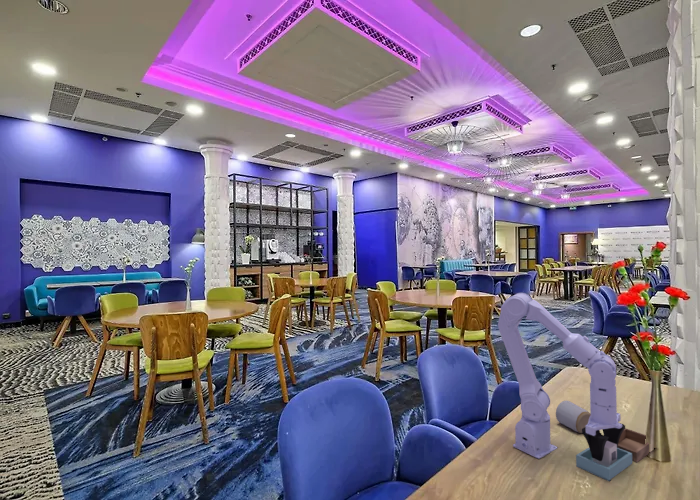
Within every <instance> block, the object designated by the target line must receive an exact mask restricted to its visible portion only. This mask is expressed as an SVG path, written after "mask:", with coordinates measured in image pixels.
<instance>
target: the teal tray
mask: <svg viewBox="0 0 700 500" xmlns="http://www.w3.org/2000/svg"><path fill="white" fill-rule="evenodd" d="M575 457H576V458H575V459H576V462H575V463H576V467H577V468H579V469H581V470H584V471H585V472H588V473H590V474H592V475H594V476H595V477H596V476H597V477H599V478H601V479H603V480H605V481H606V482H611V481H612V479H613V478H615V477H616V476H617V475H618V474H620V473H622V472H623V471H624V470H626V469H627V468H628V467H629V466H632V464H633V461H632V453H630V452H627V451H625V450H622V449H620V448H617V461H616V462H615V463H613V464H612V465H610V466H609V467H606V466H603V465H601V464H599V463H596V462H594V461H593V458H592V455H591V452H590V448H589V447H587V448H585V449H584V450H582V451H580V452H579V453H577V454H576V455H575Z"/></svg>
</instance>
